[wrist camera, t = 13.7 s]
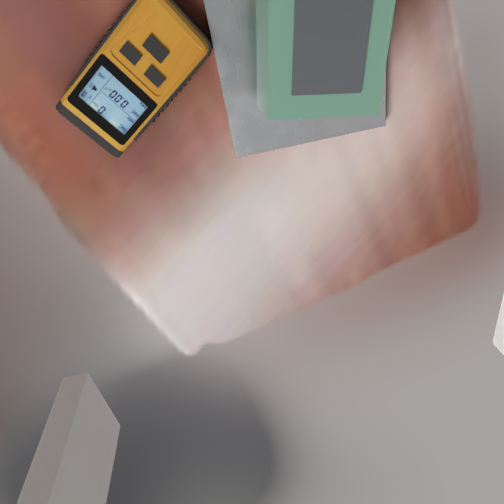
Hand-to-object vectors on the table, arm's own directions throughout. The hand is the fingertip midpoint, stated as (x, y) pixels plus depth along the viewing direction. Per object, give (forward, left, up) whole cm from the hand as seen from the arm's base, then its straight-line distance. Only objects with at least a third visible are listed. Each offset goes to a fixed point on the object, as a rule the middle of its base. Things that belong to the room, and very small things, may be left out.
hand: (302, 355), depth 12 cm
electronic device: (-6, -8, -37) cm, 39 cm away
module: (-6, +9, -32) cm, 34 cm away
